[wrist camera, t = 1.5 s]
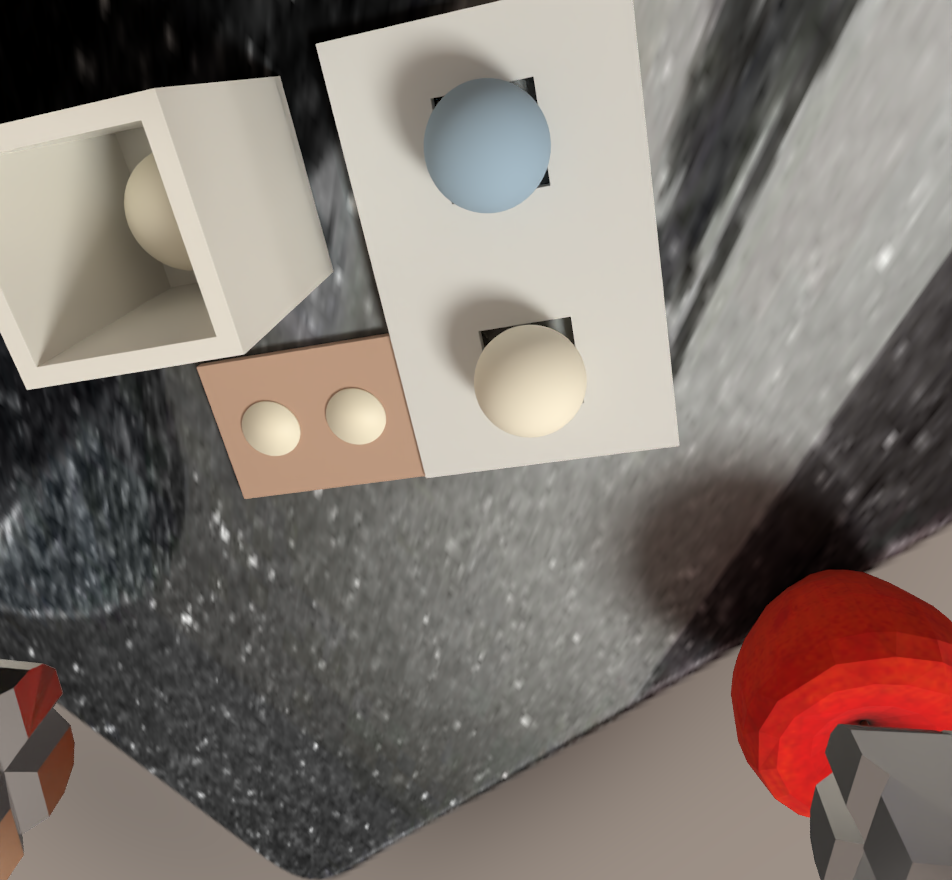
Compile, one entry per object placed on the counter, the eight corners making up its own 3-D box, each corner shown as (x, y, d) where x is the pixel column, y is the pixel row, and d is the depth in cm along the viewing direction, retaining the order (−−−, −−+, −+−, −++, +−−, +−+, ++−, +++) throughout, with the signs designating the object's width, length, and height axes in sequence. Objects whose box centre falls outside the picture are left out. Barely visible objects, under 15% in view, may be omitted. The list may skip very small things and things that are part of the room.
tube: (279, 76, 27) (154, 87, 19) (333, 271, 30) (244, 354, 22) (101, 116, 28) (-87, 144, 20) (169, 301, 31) (27, 390, 23)
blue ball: (541, 64, 26) (536, 66, 22) (560, 190, 28) (558, 211, 24) (422, 90, 27) (398, 96, 23) (447, 211, 28) (429, 234, 25)
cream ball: (577, 302, 29) (578, 337, 26) (592, 402, 31) (595, 449, 27) (470, 319, 30) (456, 356, 26) (490, 416, 32) (480, 463, 28)
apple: (748, 503, 32) (797, 629, 25) (968, 547, 32) (1080, 687, 25) (685, 671, 36) (712, 821, 29) (881, 711, 36) (955, 872, 29)
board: (320, 43, 26) (315, 44, 26) (628, -29, 25) (629, -31, 24) (428, 471, 33) (426, 478, 32) (677, 438, 31) (679, 445, 31)
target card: (393, 332, 30) (390, 336, 30) (428, 471, 33) (426, 476, 33) (200, 363, 32) (195, 368, 32) (247, 494, 34) (243, 499, 34)
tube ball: (248, 127, 27) (199, 140, 24) (283, 245, 29) (242, 273, 25) (142, 151, 28) (79, 166, 24) (182, 264, 30) (128, 293, 26)
